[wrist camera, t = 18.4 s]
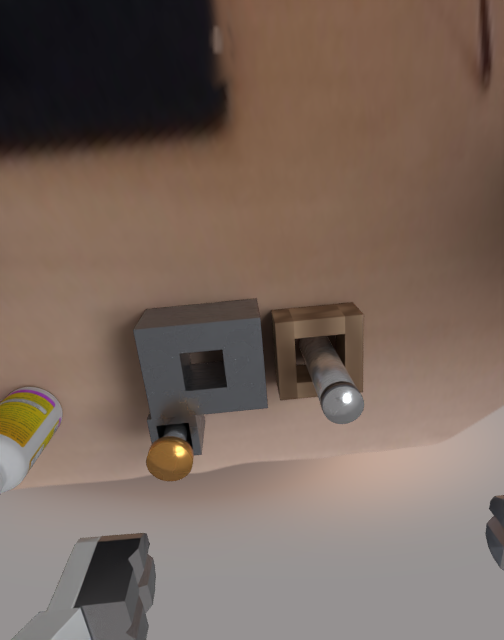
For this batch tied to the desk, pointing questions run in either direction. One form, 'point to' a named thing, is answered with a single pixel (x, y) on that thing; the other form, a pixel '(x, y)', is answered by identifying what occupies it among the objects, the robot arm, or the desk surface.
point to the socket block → (200, 364)
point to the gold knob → (171, 454)
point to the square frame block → (314, 323)
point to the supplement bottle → (25, 431)
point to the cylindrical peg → (331, 380)
